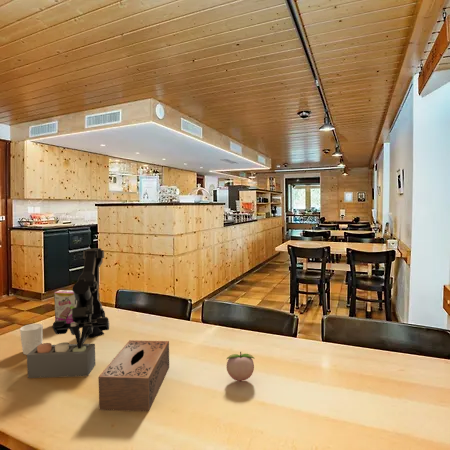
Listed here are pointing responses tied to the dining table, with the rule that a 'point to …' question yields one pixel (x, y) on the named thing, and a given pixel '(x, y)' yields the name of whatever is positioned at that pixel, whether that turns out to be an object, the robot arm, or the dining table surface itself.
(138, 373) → the tissue box cover
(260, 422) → the dining table surface
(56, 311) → the candy bar box
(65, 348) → the cream rounded egg shape
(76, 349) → the sage button
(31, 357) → the tray
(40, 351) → the terracotta button
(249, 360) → the decorative fruit
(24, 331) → the white cup
